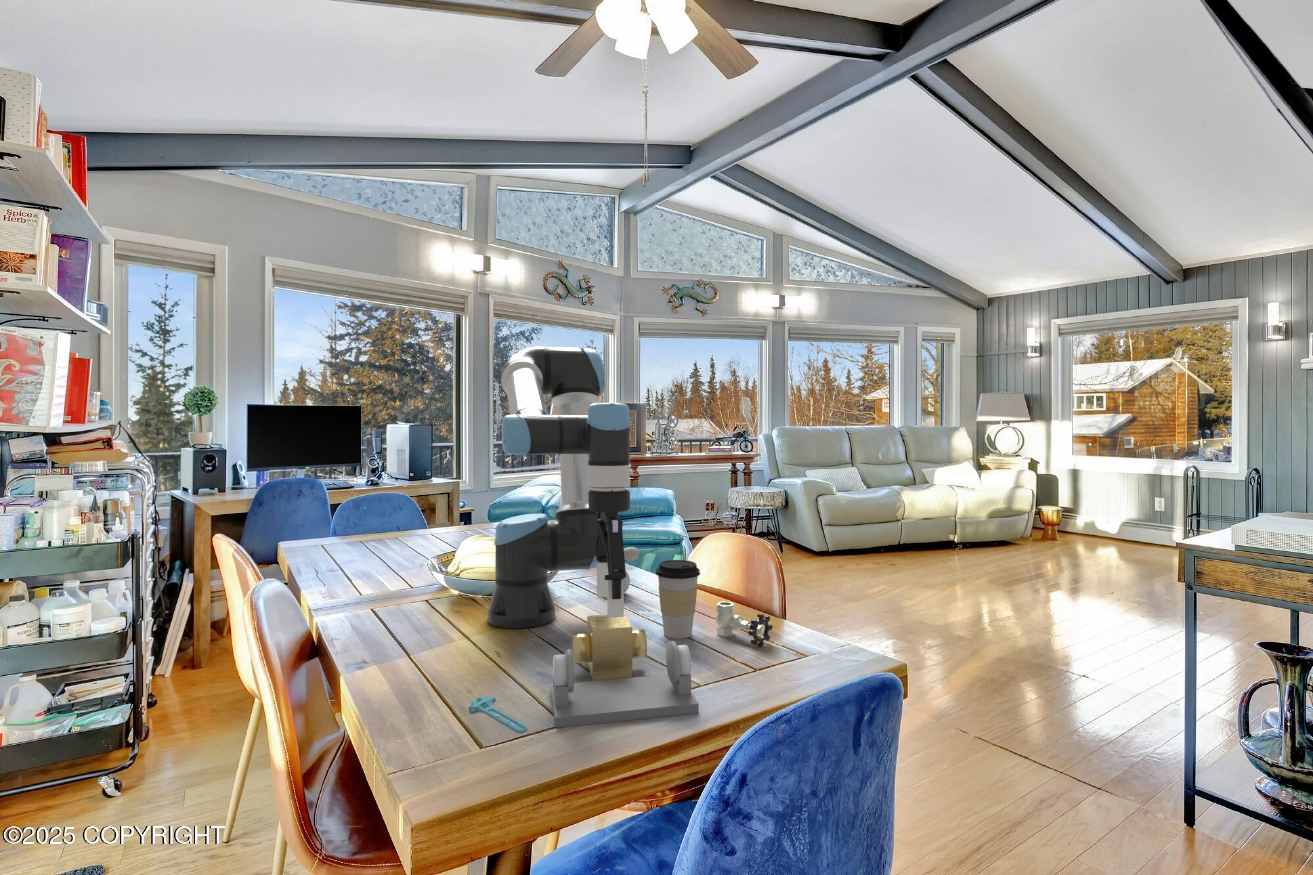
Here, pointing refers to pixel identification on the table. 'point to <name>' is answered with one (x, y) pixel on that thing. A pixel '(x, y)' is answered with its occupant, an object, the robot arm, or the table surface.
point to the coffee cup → (677, 596)
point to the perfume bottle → (630, 554)
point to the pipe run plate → (622, 693)
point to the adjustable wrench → (486, 706)
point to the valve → (741, 624)
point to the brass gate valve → (609, 647)
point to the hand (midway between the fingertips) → (609, 606)
